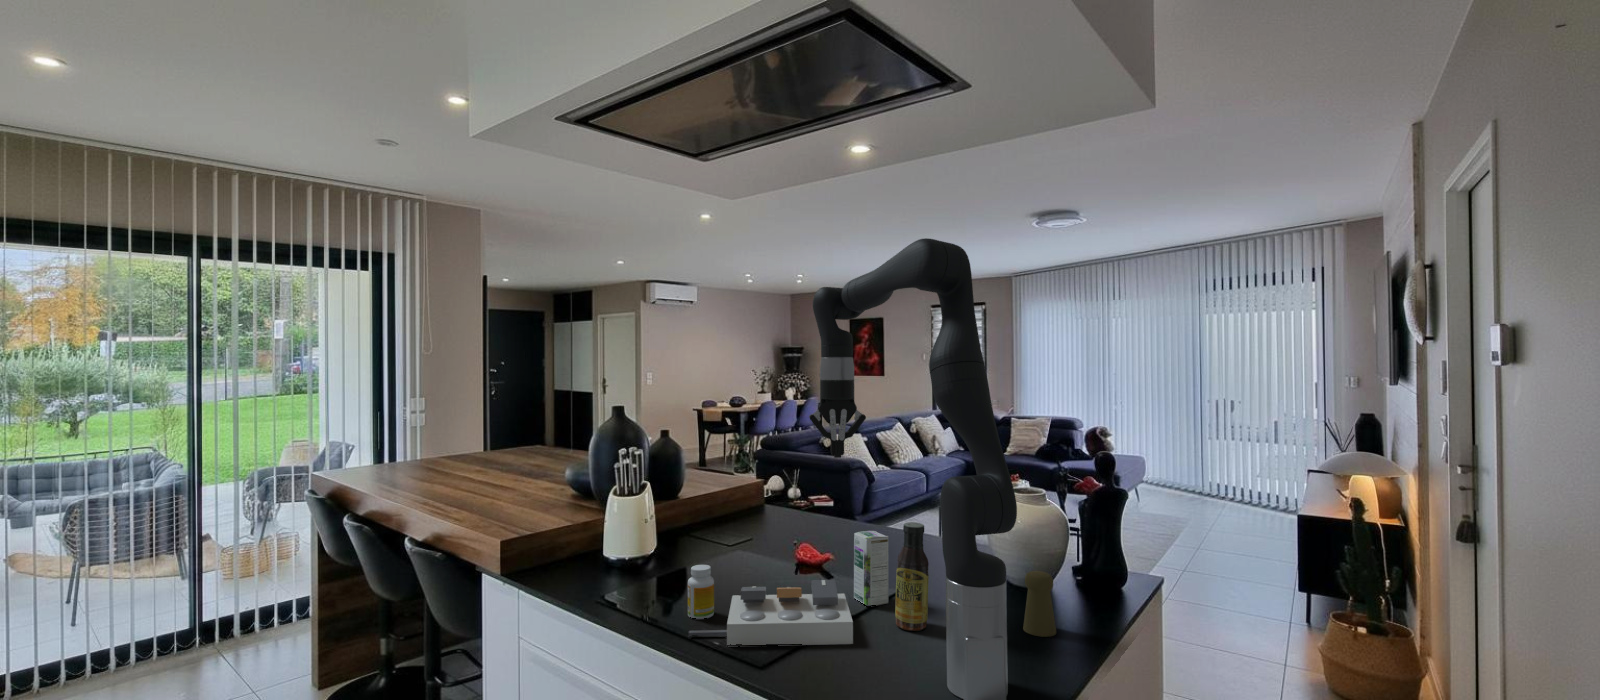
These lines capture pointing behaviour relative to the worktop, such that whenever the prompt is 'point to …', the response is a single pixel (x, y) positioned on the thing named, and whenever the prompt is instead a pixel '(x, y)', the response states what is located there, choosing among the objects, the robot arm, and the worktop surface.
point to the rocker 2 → (789, 594)
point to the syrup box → (871, 568)
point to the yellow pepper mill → (1039, 605)
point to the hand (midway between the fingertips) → (837, 457)
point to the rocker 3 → (824, 592)
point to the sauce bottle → (912, 580)
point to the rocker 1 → (753, 594)
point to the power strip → (786, 622)
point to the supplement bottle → (700, 592)
